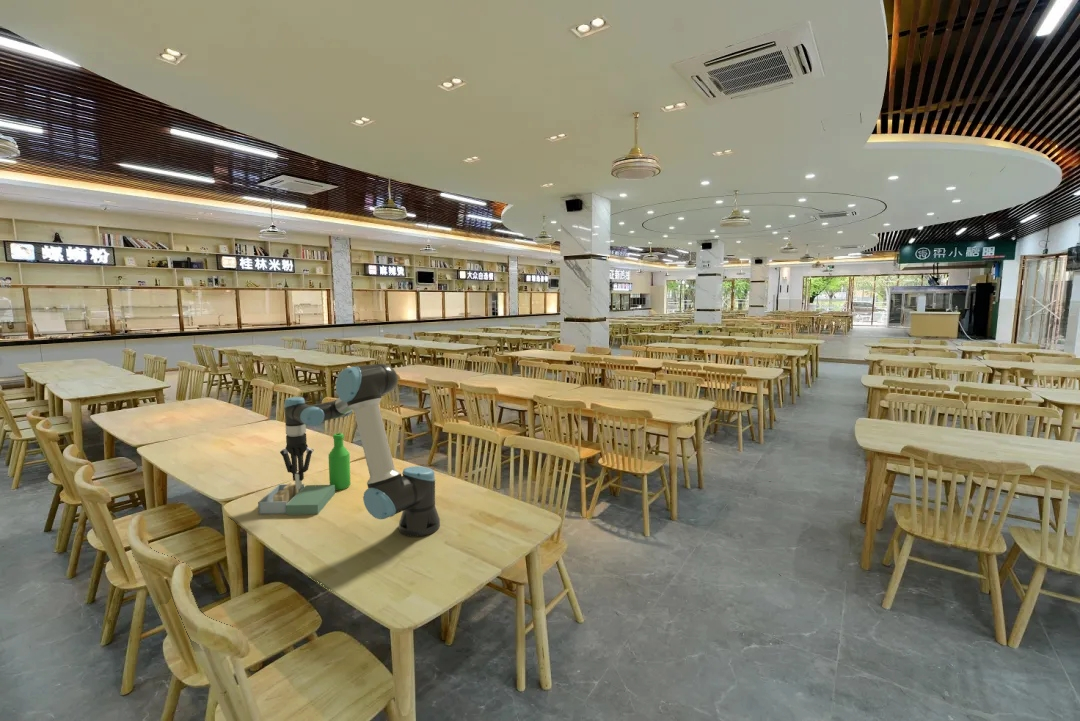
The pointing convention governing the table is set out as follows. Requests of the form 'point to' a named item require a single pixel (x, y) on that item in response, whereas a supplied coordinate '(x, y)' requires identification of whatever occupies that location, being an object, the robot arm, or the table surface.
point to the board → (310, 499)
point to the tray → (274, 507)
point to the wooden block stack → (291, 490)
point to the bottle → (339, 464)
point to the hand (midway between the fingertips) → (298, 487)
